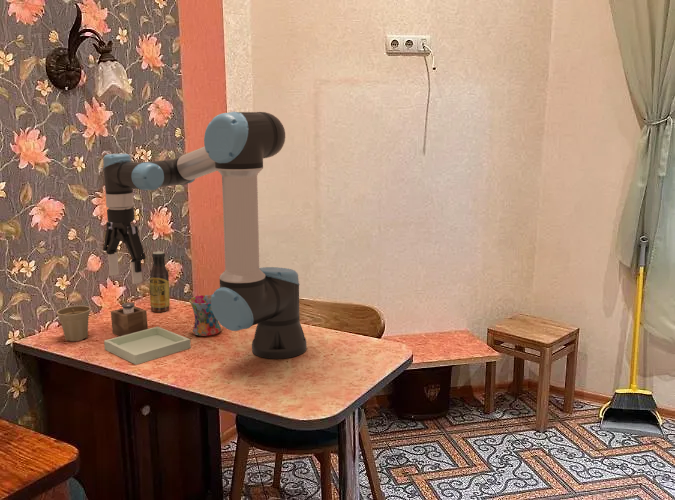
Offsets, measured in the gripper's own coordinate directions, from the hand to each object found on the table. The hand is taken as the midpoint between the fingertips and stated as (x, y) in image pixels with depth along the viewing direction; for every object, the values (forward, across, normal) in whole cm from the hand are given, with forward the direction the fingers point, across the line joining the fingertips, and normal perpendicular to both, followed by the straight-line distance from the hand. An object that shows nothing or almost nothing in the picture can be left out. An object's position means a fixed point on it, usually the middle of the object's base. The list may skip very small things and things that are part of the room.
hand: (125, 278), depth 196 cm
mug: (+17, -17, -17) cm, 30 cm away
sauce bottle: (+17, +14, -19) cm, 29 cm away
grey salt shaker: (+17, 0, 0) cm, 17 cm away
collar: (+17, 0, 0) cm, 17 cm away
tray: (+17, -16, +4) cm, 24 cm away
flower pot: (+17, +8, +13) cm, 23 cm away
